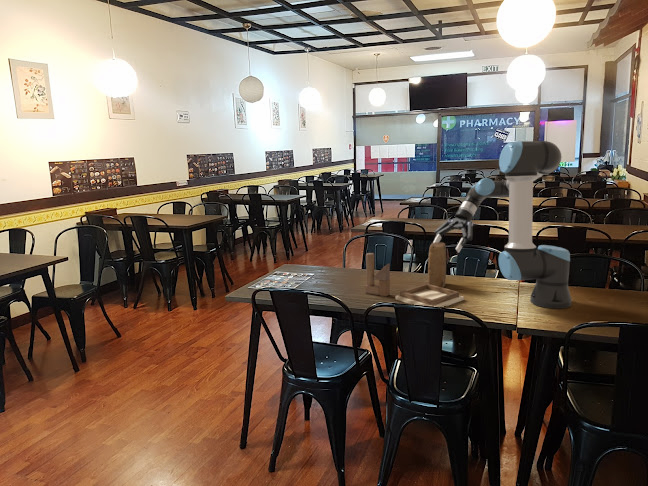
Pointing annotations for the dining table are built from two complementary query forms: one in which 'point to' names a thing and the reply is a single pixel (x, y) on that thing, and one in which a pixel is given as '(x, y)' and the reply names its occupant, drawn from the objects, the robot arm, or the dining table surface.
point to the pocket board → (429, 296)
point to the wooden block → (382, 276)
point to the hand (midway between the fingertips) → (445, 248)
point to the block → (437, 264)
